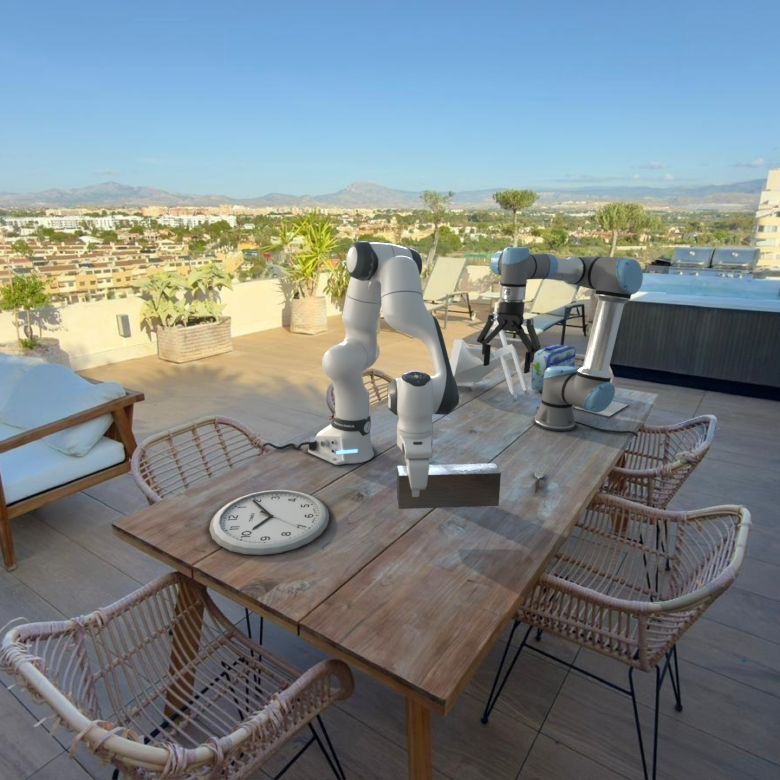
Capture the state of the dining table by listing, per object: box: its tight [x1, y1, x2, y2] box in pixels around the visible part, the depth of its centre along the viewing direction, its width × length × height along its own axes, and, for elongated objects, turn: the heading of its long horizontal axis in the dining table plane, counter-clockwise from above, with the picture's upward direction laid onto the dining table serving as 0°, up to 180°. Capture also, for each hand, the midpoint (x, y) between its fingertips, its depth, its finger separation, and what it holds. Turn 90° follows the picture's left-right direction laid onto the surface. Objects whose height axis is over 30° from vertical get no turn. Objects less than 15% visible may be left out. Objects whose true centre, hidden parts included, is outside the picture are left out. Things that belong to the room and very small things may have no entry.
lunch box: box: [530, 344, 577, 392], centre depth 247 cm, size 26×11×21 cm, turn 134°
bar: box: [396, 462, 502, 510], centre depth 132 cm, size 25×6×9 cm, turn 93°
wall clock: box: [209, 489, 330, 556], centre depth 135 cm, size 30×2×30 cm
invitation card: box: [573, 400, 629, 418], centre depth 226 cm, size 21×1×15 cm
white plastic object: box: [449, 310, 531, 400], centre depth 245 cm, size 37×45×31 cm
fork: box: [534, 465, 545, 494], centre depth 157 cm, size 3×16×2 cm, turn 160°
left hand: (413, 488), depth 132 cm, fingers closed on bar, 5 cm apart
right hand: (506, 368), depth 163 cm, fingers open, 13 cm apart
